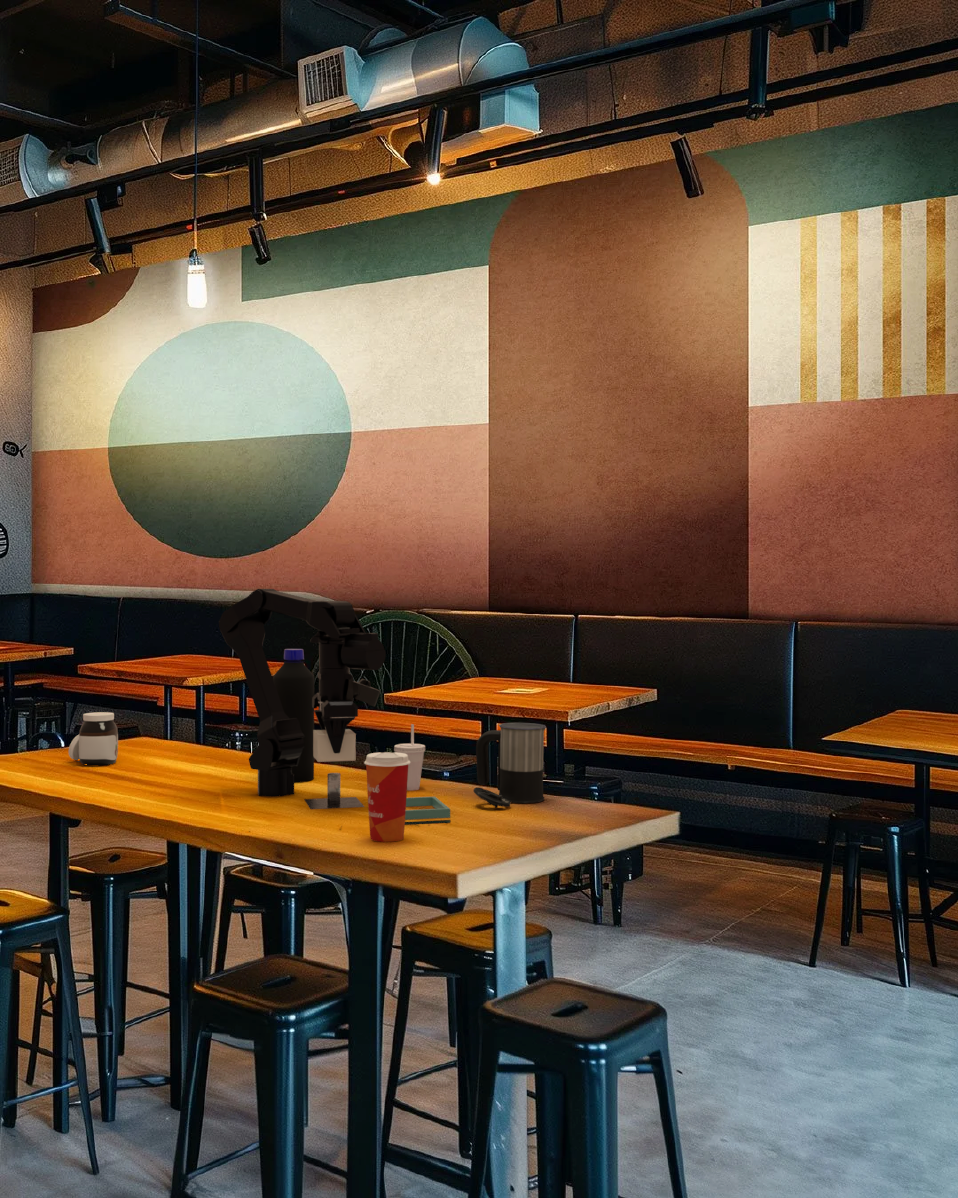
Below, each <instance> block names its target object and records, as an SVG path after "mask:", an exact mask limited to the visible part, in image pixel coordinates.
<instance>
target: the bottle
mask: <svg viewBox="0 0 958 1198" xmlns="http://www.w3.org/2000/svg"><path fill="white" fill-rule="evenodd" d="M283 660H285V661H283V663H282V666H280V668H279V669H278V670H277V671H276V672H275V674H274V675H273V676H272V678H273V681H274V684H275V687H276V690H277V693H278V696H279V699H280V702H281V705H282V707H283V710H284V713H285V714H286V715H287V716H288V717H289V718H290V719H292V718H297V719H298V721H299V723H300V728H301V731H302V733H303V734H304V736H305V737H303V740H304V748H303V750H302V753H301V756H300V760H299V763H298V766H290V767H291V773H293V775H294V784H295V783H297V784H298V783H306V782H310V781H313V780H314V779H315V758H314V757H313V730H315V712H314V710H315V708H313V707H312V697H313V696H314V695H315V675H314V674H313V673H312V671H310V669H308V667H307V666H306V665H305V662H304V661H303V660H305V654H304V649H303V648H285V649H284V651H283Z"/></svg>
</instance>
